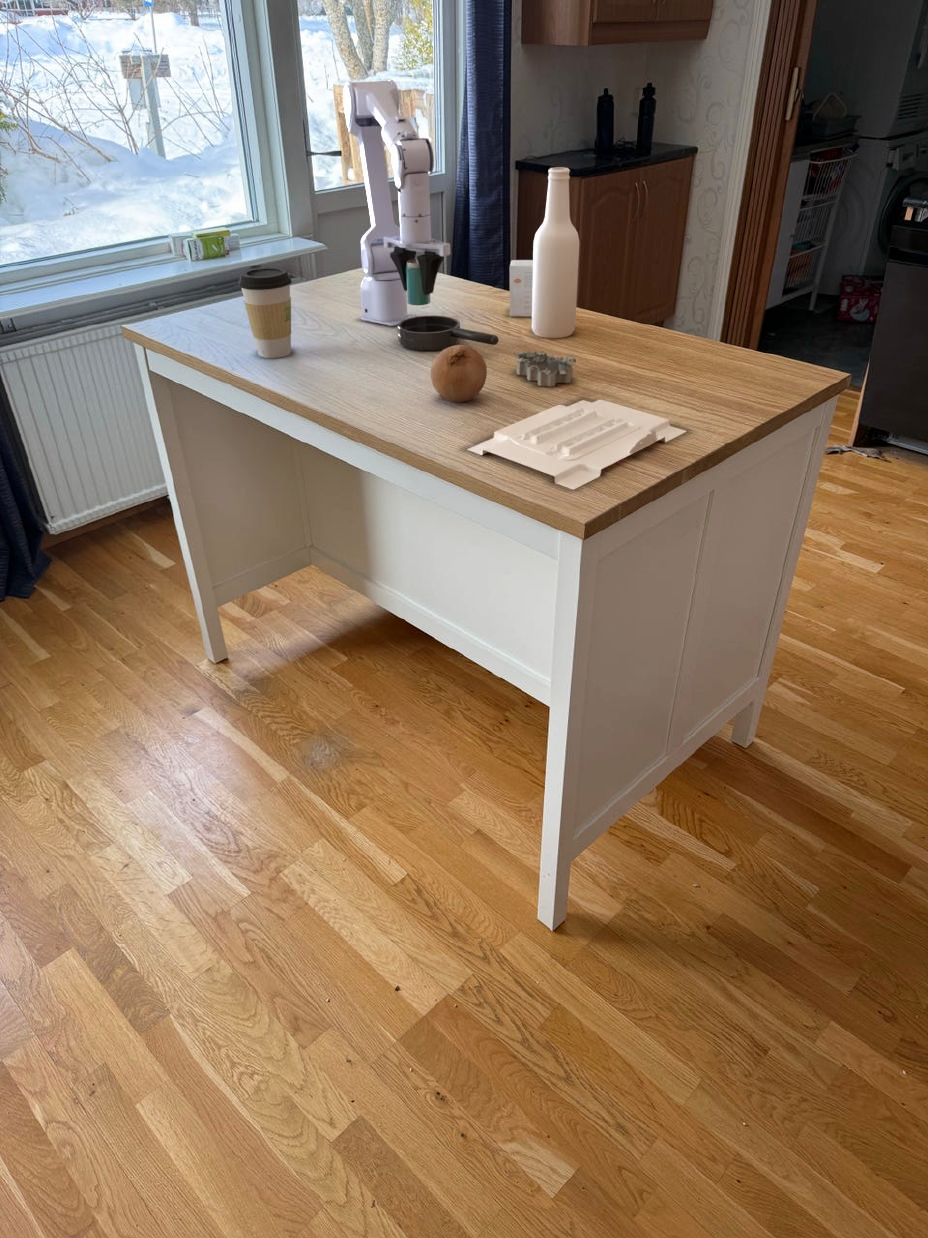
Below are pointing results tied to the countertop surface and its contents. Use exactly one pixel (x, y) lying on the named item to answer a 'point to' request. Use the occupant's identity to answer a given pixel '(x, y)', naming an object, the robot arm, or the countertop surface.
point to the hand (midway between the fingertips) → (418, 291)
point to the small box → (521, 288)
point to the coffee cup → (268, 309)
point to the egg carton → (545, 368)
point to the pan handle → (474, 336)
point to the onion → (458, 373)
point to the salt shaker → (415, 284)
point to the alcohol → (555, 263)
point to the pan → (427, 333)
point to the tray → (578, 439)
